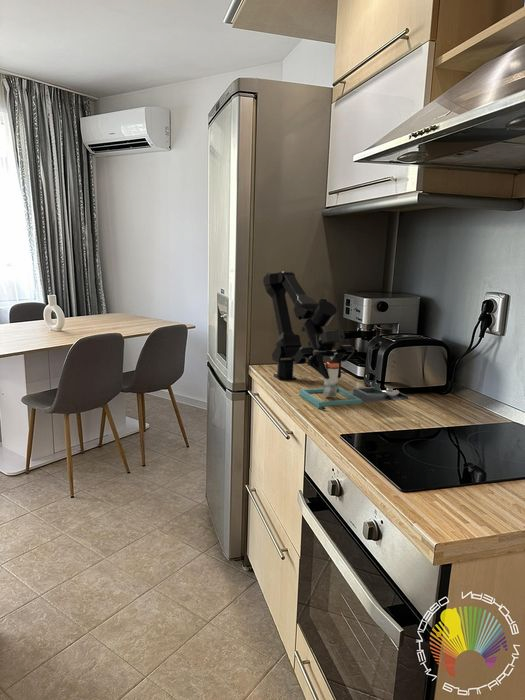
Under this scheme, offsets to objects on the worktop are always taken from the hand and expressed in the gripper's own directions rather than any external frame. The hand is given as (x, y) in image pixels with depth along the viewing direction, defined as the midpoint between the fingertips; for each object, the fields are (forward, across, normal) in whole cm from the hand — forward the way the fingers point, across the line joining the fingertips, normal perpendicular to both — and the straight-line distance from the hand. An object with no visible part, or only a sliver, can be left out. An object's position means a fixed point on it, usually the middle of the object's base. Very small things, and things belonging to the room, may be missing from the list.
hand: (333, 378), depth 148 cm
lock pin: (+3, 0, +5) cm, 6 cm away
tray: (+4, 0, +6) cm, 8 cm away
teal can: (-4, +29, +15) cm, 33 cm away
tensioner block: (+6, +16, +5) cm, 18 cm away
